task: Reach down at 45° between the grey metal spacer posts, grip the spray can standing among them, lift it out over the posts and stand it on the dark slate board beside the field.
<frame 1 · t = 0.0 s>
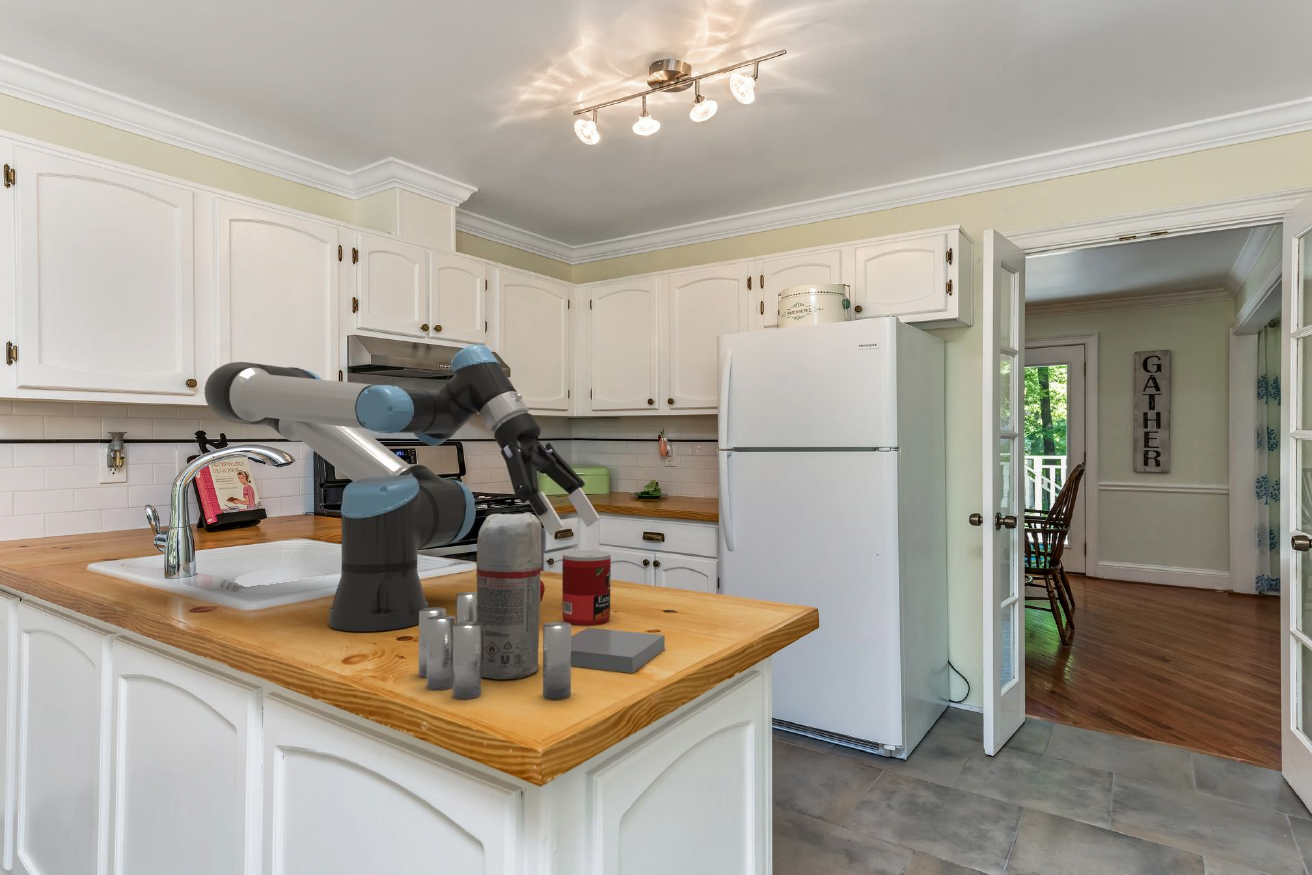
hand: (576, 526, 124), 15 cm above the counter, tool tilted 35°, fingers open, 13 cm apart
spray can: (508, 673, 94), on the counter
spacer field: (508, 671, 94), on the counter
canned food: (586, 621, 123), on the counter
strawberry: (522, 623, 121), on the counter
slate board: (608, 655, 102), on the counter
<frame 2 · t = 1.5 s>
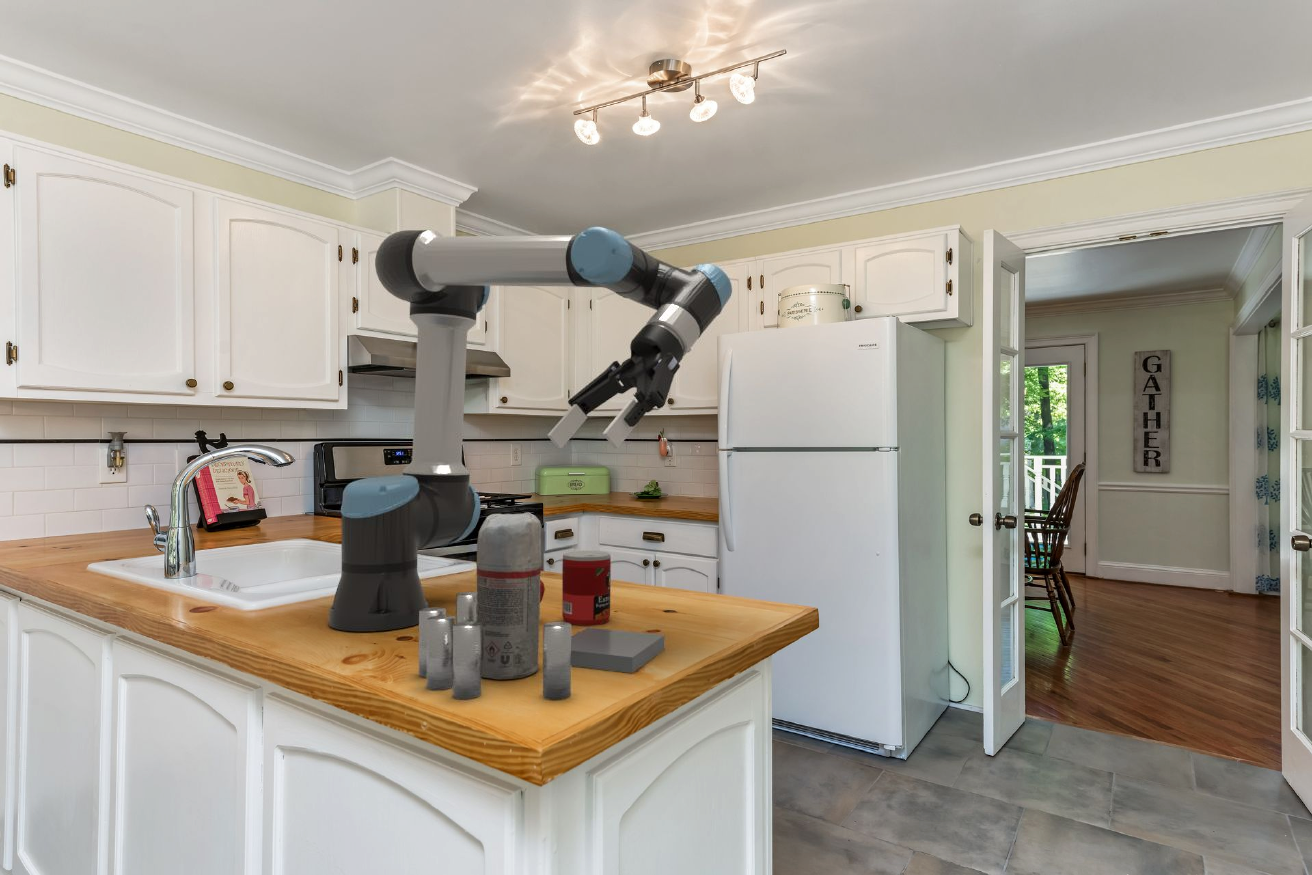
hand: (580, 441, 102), 29 cm above the counter, tool tilted 45°, fingers open, 13 cm apart
nothing on the counter moved.
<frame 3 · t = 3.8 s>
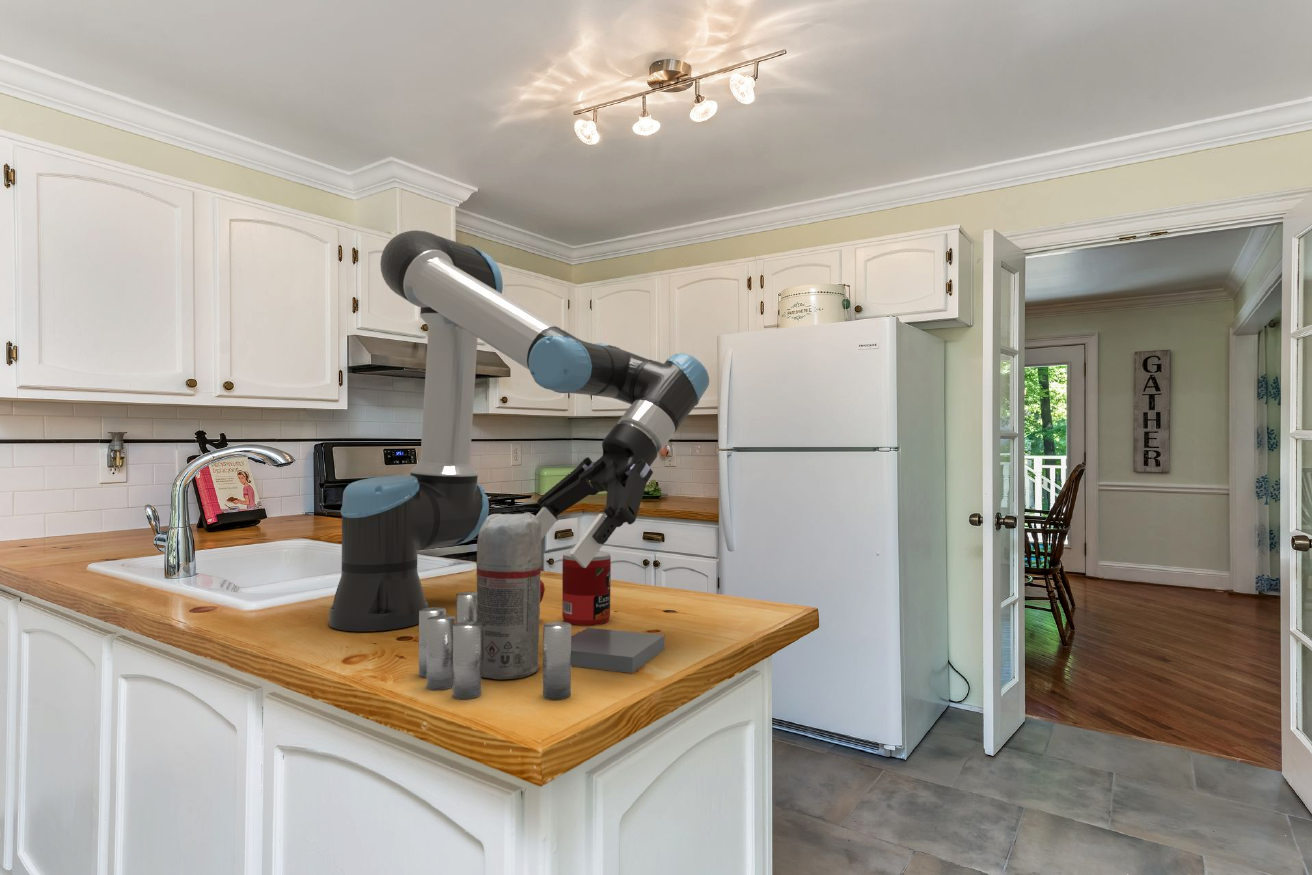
hand: (547, 554, 97), 14 cm above the counter, tool tilted 45°, fingers open, 13 cm apart
nothing on the counter moved.
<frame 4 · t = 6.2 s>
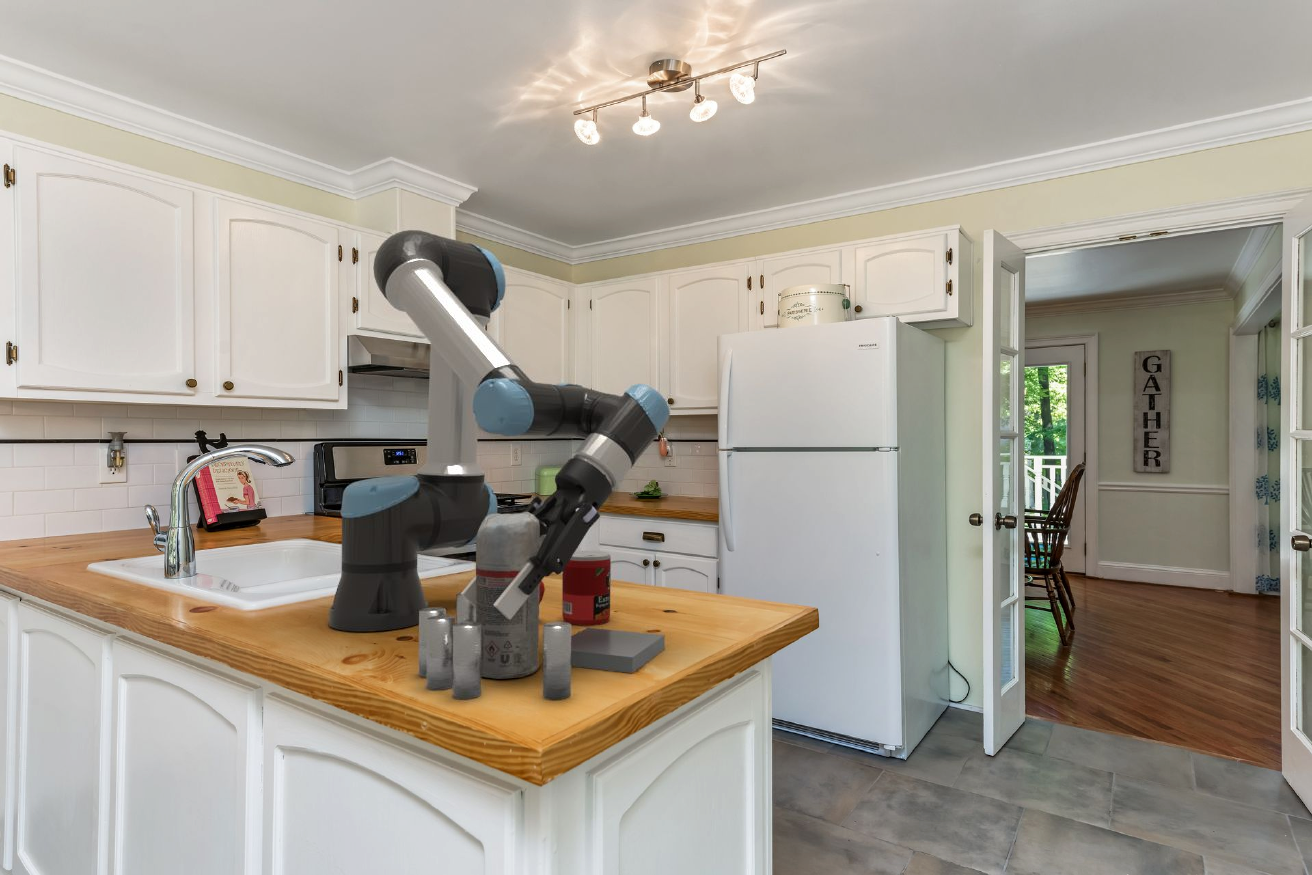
hand: (484, 606, 92), 9 cm above the counter, tool tilted 45°, fingers closed on spray can, 8 cm apart
spray can: (508, 672, 94), on the counter, touching gripper
everything else where it was.
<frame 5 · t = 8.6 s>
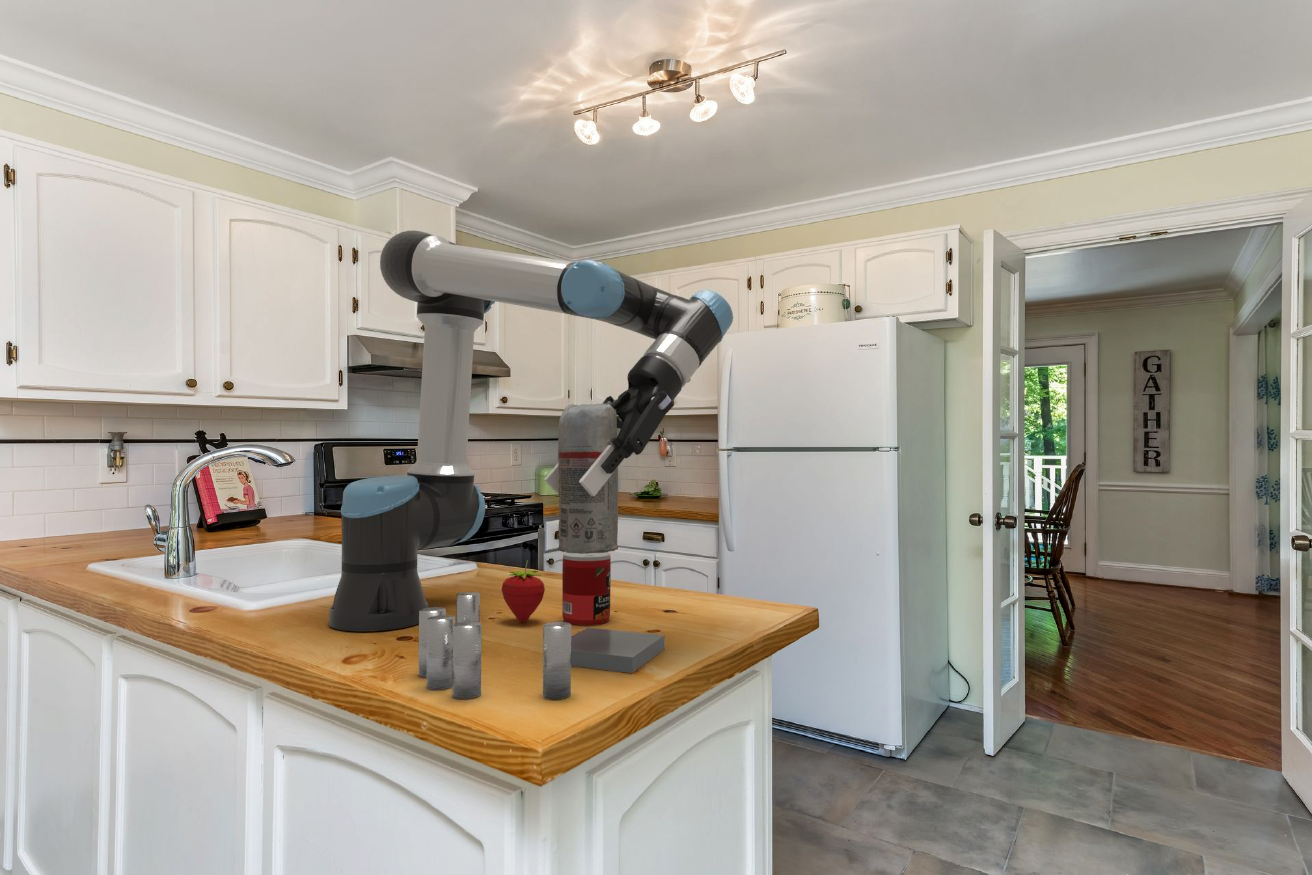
hand: (568, 487, 98), 23 cm above the counter, tool tilted 45°, fingers closed on spray can, 8 cm apart
spray can: (589, 552, 100), point 14 cm above the counter, touching gripper
everything else where it was.
when the fingers open (12 cm above the counter, at t = 11.3 s): spray can drops 1 cm, resting on slate board.
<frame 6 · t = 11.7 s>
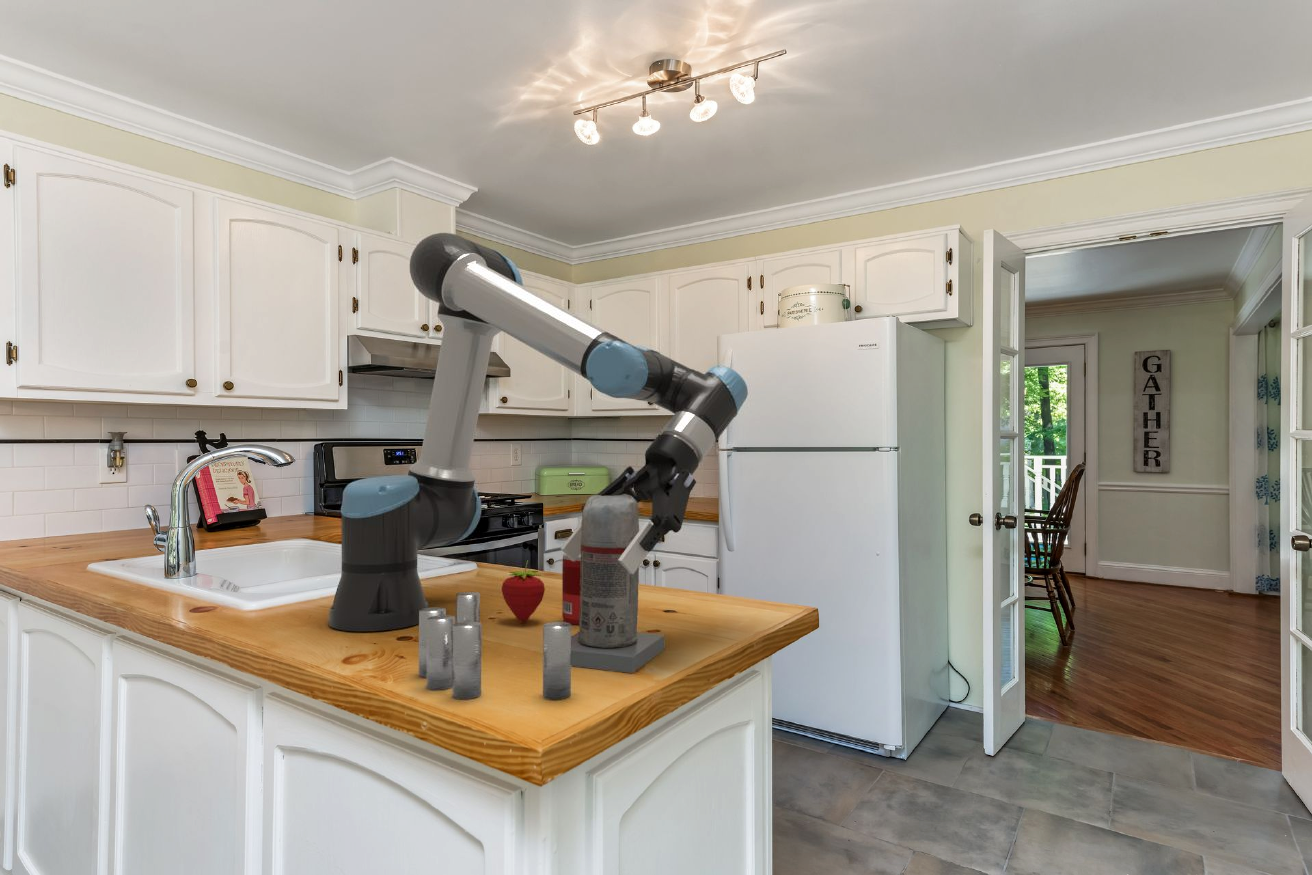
hand: (594, 561, 100), 13 cm above the counter, tool tilted 45°, fingers open, 13 cm apart
spray can: (609, 642, 102), point 2 cm above the counter, touching slate board
everything else where it was.
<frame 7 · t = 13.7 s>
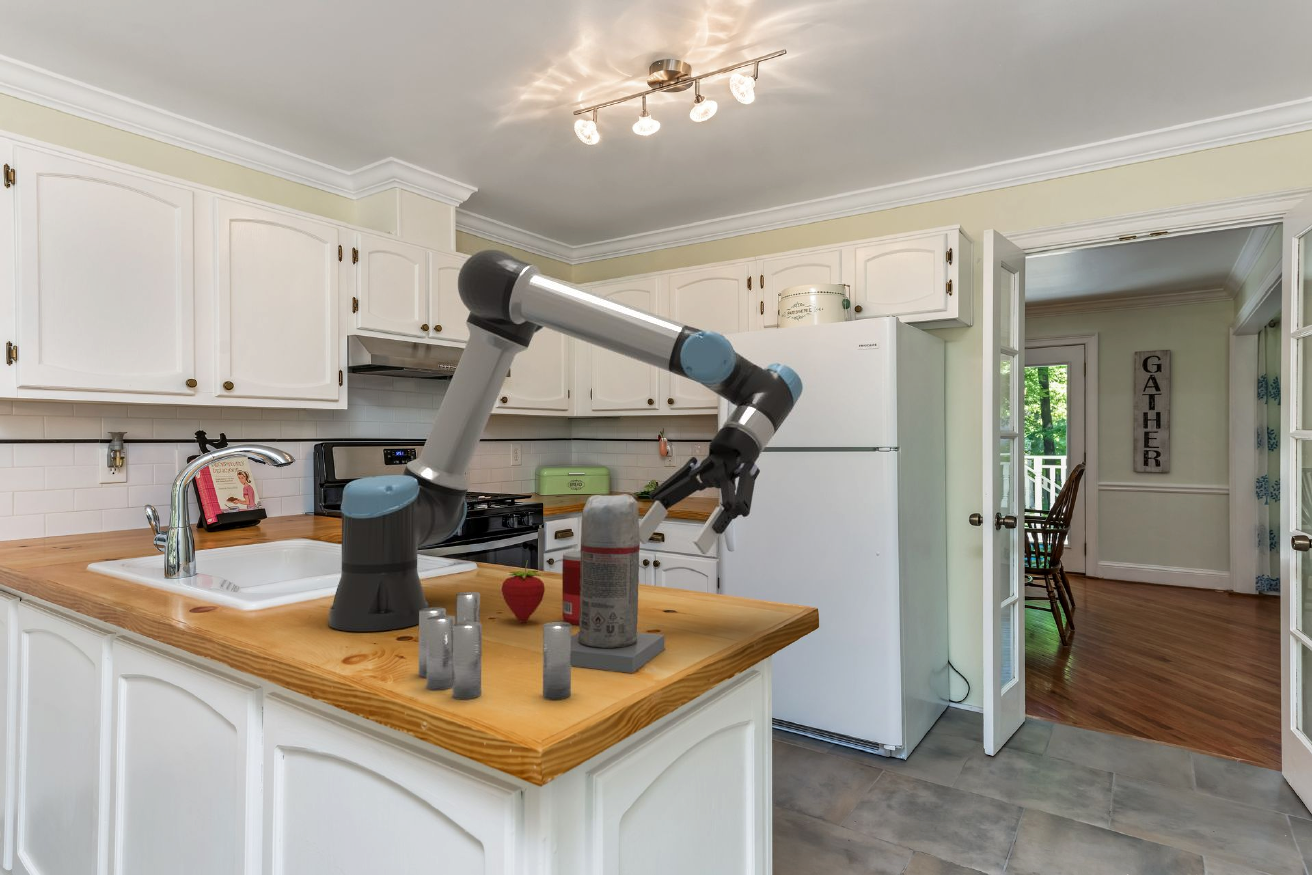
hand: (667, 543, 109), 15 cm above the counter, tool tilted 45°, fingers open, 13 cm apart
nothing on the counter moved.
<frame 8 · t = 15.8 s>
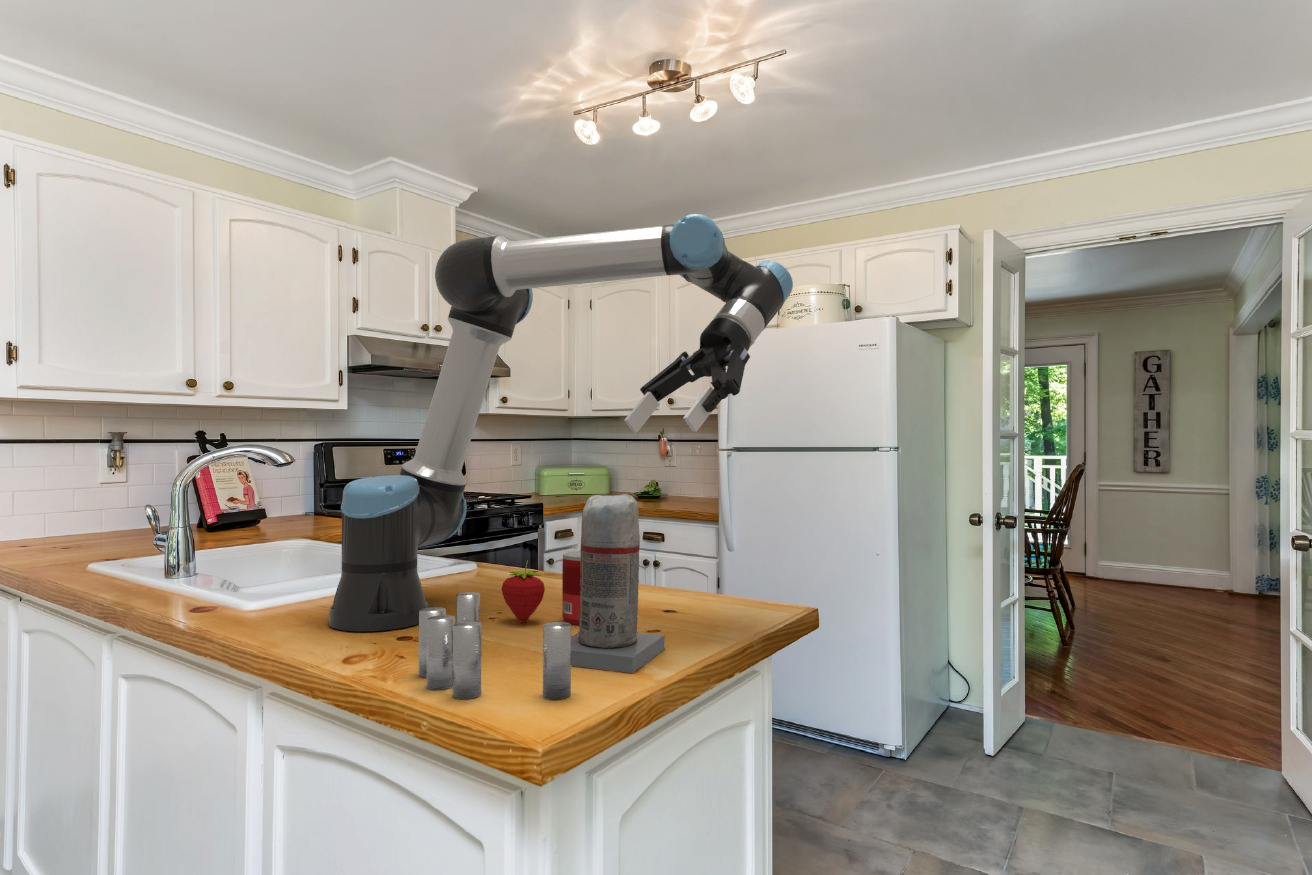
hand: (658, 426, 109), 32 cm above the counter, tool tilted 45°, fingers open, 13 cm apart
nothing on the counter moved.
at the end: spray can inside the target area on the slate board (0.2 cm from its centre), point 1.8 cm above the slate board's base; spray can tilted 0°; the gripper is holding nothing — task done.
